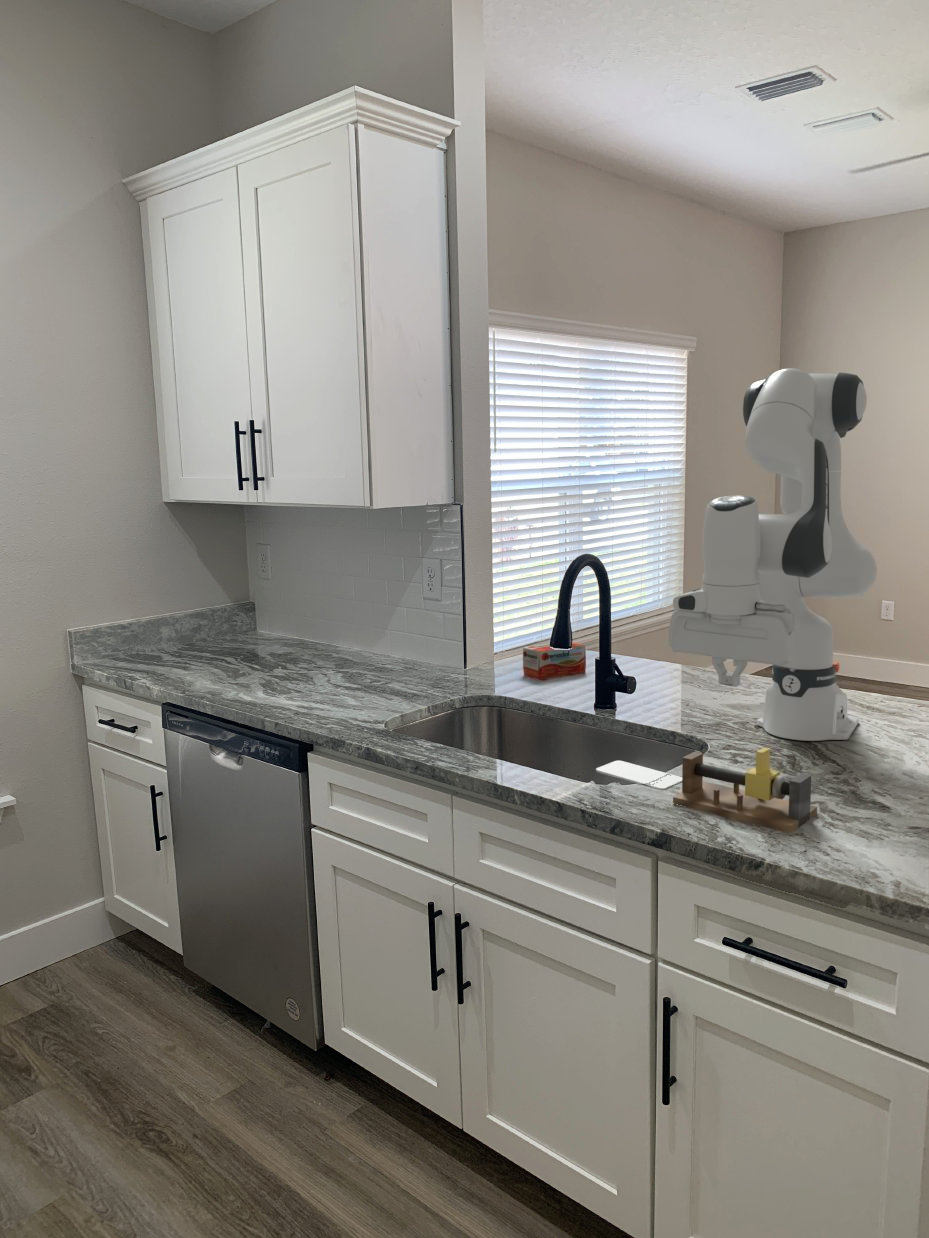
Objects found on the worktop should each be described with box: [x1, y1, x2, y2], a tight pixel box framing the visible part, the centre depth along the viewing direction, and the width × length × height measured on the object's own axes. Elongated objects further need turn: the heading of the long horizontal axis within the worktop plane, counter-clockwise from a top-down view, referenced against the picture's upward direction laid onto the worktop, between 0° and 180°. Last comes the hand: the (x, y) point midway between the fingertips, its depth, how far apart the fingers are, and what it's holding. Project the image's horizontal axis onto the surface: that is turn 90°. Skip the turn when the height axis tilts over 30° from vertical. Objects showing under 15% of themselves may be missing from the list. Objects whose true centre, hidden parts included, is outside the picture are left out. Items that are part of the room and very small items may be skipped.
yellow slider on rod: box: [672, 751, 818, 834], centre depth 152 cm, size 20×10×7 cm, turn 48°
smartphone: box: [595, 760, 682, 790], centre depth 170 cm, size 7×1×15 cm
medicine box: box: [522, 641, 587, 681], centre depth 250 cm, size 15×8×8 cm, turn 120°
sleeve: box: [744, 746, 781, 801], centre depth 149 cm, size 4×4×7 cm
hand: (729, 684), depth 151 cm, fingers closed
